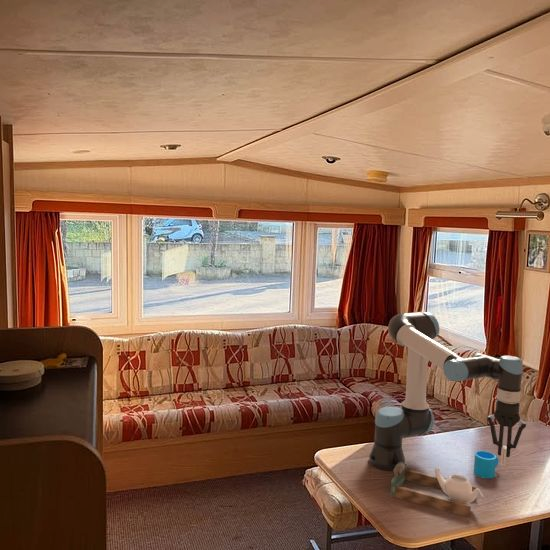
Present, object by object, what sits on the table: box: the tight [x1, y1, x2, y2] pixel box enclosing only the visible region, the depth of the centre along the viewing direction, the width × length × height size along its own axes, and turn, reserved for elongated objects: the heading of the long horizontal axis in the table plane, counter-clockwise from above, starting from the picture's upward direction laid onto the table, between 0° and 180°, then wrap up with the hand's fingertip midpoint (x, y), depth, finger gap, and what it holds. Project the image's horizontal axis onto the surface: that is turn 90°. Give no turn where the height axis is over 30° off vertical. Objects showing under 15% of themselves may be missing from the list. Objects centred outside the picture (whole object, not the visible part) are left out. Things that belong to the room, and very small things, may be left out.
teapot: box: [434, 468, 485, 504], centre depth 199 cm, size 10×20×9 cm, turn 42°
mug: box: [473, 450, 499, 479], centre depth 223 cm, size 12×8×8 cm
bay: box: [390, 462, 478, 518], centre depth 203 cm, size 29×17×9 cm, turn 62°
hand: (503, 464), depth 191 cm, fingers closed
